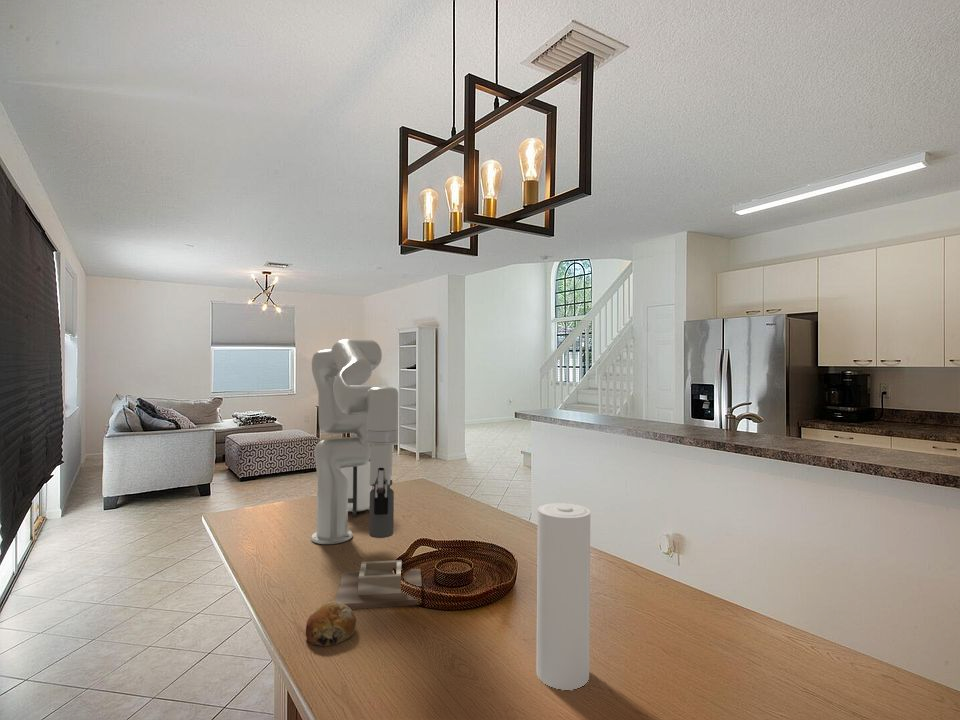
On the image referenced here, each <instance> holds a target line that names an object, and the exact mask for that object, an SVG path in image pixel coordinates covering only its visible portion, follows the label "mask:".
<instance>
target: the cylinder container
mask: <svg viewBox="0 0 960 720" xmlns="http://www.w3.org/2000/svg"><path fill="white" fill-rule="evenodd" d="M536 542H537V545H536V546H537V550H536V551H537V552H536V553H537V554H536V555H537V558H536V562H537V563H536V565H537V566H536V570H537V571H536V573H537V574H536V578H537V580H536V660H535V661H536V667H535V668H536V669H535V670H536V672H535V673H536V676H538V677H537V678H538V680H539V679H540V680H541V681H542V682H543V684H544V685H545V684H546V685H545V686H547V685H548V686H547V687H549V686H550V687H549V688H551V687H553V688H552V689H554V688H556V689H555V690H558V689H561V690H560V691H564V690H570V691H574V690H573V689H577V688H580V687H582V686H584V685H585V684H586V683H587V682H588V683H589V681H590V631H591V630H590V627H591V625H590V615H591V612H590V608H591V607H590V606H591V603H590V602H591V601H590V599H591V593H590V592H591V510H590V509H589V508H588V507H587V506H586V507H585V506H582V505H579V504H574V503H567V502H566V503H565V502H564V503H563V502H551V503H545V504H542V505H540V506H539V507H537V541H536ZM540 680H539V681H540ZM588 680H589V681H588ZM541 681H540V682H541ZM542 682H541V683H542ZM588 683H587V684H588ZM587 684H586V685H587ZM586 685H585V686H586ZM585 686H584V687H585ZM582 688H583V687H582ZM580 689H581V688H580ZM577 690H578V689H577Z"/></svg>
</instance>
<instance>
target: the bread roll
mask: <svg viewBox="0 0 960 720" xmlns="http://www.w3.org/2000/svg"><path fill="white" fill-rule="evenodd" d="M306 621H307V622H306V626H305V638H306V639H307V641H308V642H309V643H310V644H312V645H315V646H320V647H329V646H334V645H336V644H337V643H338V644H340V643H342V642H344V641H347V640H349V639H350V638H351V637H352V636H353V635H354V633H355V629H356V625H357V617H356V615H355V613H354V612H353V610H352V609H350V608H349V607H348V606H347V605H345V604H343V603H341V602H335V601H324V602H323V603H322V604H321V605H320V606H318V607H317V608H316V609H314V611H313V612H312V613H310V615H309V617H308V619H307V620H306Z"/></svg>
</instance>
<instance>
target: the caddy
mask: <svg viewBox="0 0 960 720" xmlns="http://www.w3.org/2000/svg"><path fill="white" fill-rule="evenodd" d="M402 563H403V562H402V559H399V560H398V559H397V560H375V561H372V560H371V561H361V564H360V569H359V571H347V572H346V571H344V572H342V576H341V579H340V583H339V586H338V588H337V592H336V596H335V600H334V602H341V603H343V604H345V605H347V606H348V607H349V608H350V609H351V610H352V609H355V610H356V609H367V608H370V609H371V608H385V607H387V608H388V607H389V608H390V607H402V606H419V605H420V604H419V603H418V600H417V599H414V598H412V597H410V596H408V595H406V594H405V593H403V592H402V591H401V570H402ZM393 568H394V569H395V570H396V574H392V571H393ZM410 569H411V570H410V571H409V572H407V573H406V574H405V576H404V577H403V578H404V580H405V581H406V582H408V583H410V584H413V585H416V586H422V587H423V585H422V583H423V582H422V573H421V572H422V569H421V568H410Z"/></svg>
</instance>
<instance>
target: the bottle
mask: <svg viewBox="0 0 960 720" xmlns="http://www.w3.org/2000/svg"><path fill="white" fill-rule="evenodd" d="M391 476H392V473H391ZM385 481H386V478H385ZM377 484H378V482H377ZM383 484H386V482H384V483H383ZM375 485H376V482H375V484H373V485H372V486H373V490H371V491H370V509H369V512H368V513H369V516H368V517H369V518H368V519H369V520H368V521H369V524H368V525H369V531H368V532H369V533H368V534H369V536H370V537H371V538H374V539H384V538H390V537H392V536H393V535H394V522H395V521H394V520H395V519H394V518H395V517H394V511H395V509H394V508H395V507H394V503H395V502H394V501H395V498H394V497H395V495H394V494H395V492H394V490H393V489H392V488H391V486H392V485H393V479H391V480H390V484H389V485H388V486H387V497H388V514H385V515H375V514H374V498H375V488H376V487H375ZM383 488H384V489H385V487H383Z"/></svg>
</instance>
